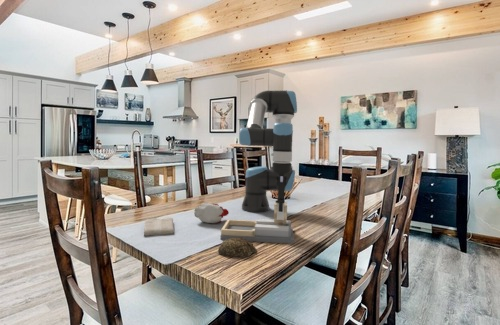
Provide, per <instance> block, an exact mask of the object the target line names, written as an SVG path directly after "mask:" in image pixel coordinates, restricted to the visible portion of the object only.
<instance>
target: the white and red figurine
mask: <svg viewBox="0 0 500 325" xmlns="http://www.w3.org/2000/svg"><path fill="white" fill-rule="evenodd" d="M193 214H194V217H196V218H198V219H199V221H200V222H202V223H206V224H218V223H221V221H222V220H223V218H224V217H227V216H228V215H229V210H228V209H227V208H223V206H220V205H219V204H218V203H209V202H202V203H201V204H199V206H197V207H195V208H194V210H193Z"/></svg>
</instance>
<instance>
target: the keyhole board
mask: <svg viewBox="0 0 500 325" xmlns="http://www.w3.org/2000/svg"><path fill="white" fill-rule="evenodd" d="M219 236H220V240H223V241H225V240H227V239H231V238H243V239H245V240H247V241H248V242H259V243H260V242H261V243H274V244H275V243H276V244H293V245H294V244H295V237H294V230H293V226H292V222H291V220H287V223H283V226H282V225H277V222H274V219H265V218H264V219H263V218H257V219H256V220H242V219H227V220H226V221H225V223H224V224H223V226H222V228H221V229H220V235H219Z"/></svg>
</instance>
